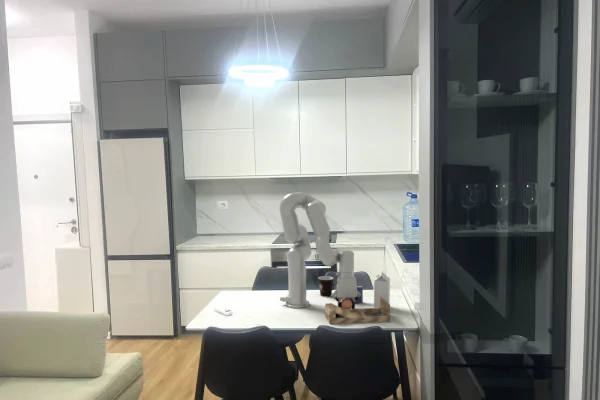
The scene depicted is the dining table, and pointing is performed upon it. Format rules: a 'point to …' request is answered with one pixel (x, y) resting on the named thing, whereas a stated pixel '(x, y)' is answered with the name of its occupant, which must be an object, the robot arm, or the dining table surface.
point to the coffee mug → (326, 285)
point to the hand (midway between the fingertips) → (346, 309)
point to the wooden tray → (358, 314)
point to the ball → (346, 304)
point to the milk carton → (381, 289)
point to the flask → (360, 289)
